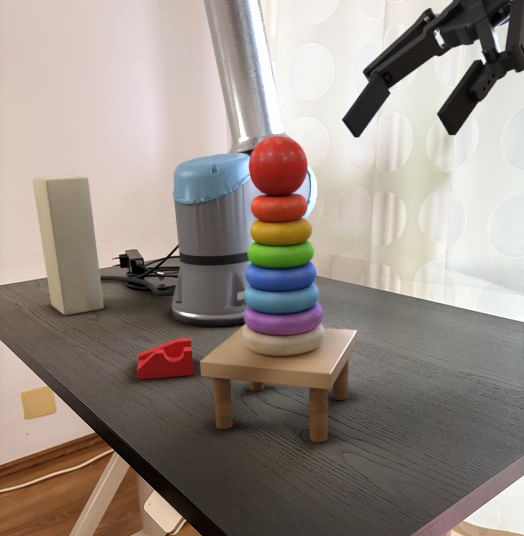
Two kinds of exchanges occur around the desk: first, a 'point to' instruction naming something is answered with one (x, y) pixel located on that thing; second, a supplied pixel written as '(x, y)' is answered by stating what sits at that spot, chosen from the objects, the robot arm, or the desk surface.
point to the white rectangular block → (68, 243)
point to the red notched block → (166, 360)
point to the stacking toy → (280, 256)
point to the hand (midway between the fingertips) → (393, 127)
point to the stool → (283, 374)
